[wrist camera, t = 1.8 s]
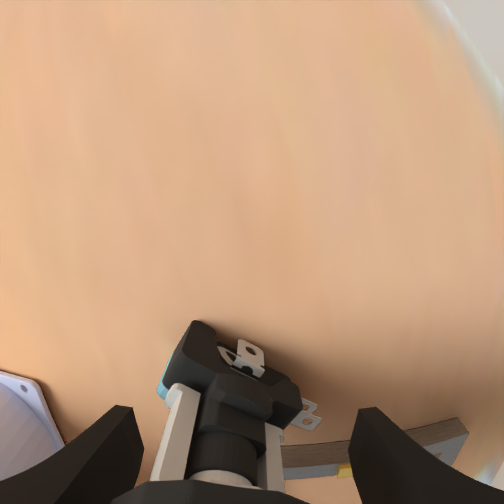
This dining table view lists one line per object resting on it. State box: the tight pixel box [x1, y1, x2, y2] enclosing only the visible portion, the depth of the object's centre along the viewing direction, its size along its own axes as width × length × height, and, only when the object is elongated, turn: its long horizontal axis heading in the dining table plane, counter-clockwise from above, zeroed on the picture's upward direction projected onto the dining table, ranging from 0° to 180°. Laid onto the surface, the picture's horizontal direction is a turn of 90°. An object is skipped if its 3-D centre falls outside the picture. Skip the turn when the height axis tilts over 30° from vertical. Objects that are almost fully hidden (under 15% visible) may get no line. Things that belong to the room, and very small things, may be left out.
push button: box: [110, 320, 322, 504], centre depth 8 cm, size 7×5×10 cm
